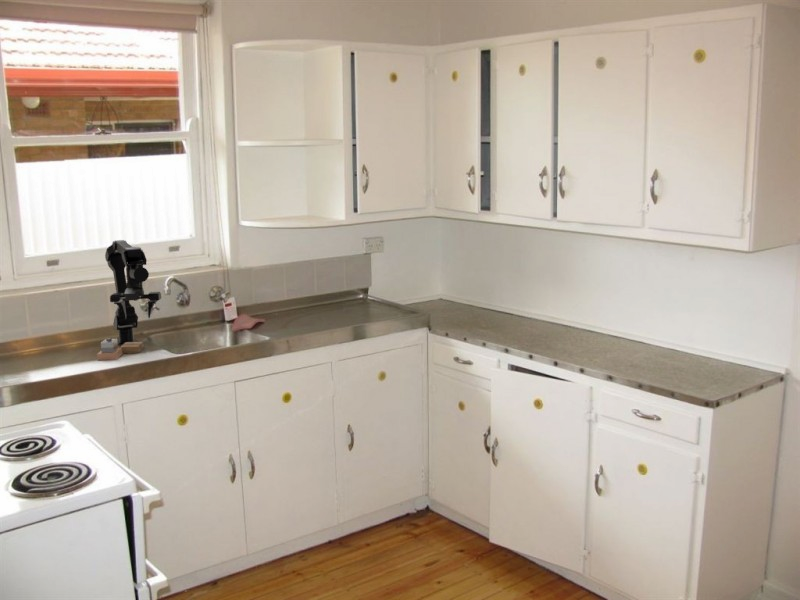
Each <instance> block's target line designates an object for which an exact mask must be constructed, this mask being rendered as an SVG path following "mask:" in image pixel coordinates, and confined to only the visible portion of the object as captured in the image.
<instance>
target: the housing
mask: <svg viewBox="0 0 800 600" xmlns="http://www.w3.org/2000/svg"><path fill="white" fill-rule="evenodd" d="M118 342H119V341H118V338H117V337H116V338H113V337H108V338H105V339H104V340H102V341H101V342H100V351H101V352H102V353H114V352H115V351H116V350H117V349H118V348H119V344H118Z"/></svg>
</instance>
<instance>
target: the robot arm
mask: <svg viewBox="0 0 800 600" xmlns="http://www.w3.org/2000/svg"><path fill="white" fill-rule="evenodd" d="M104 256H105V261H106V262H107V266H108V267H109V268H110V270H111V271H112V272H113V273H112V274H113V278H114V285H115V293H114V292H113V293H112V294H110V296H109V302H110V303H113V304H114V305H117V307H116V311H115V315H114V320H113V322H112V323H113V329H114V330H115V331H118V340H119V341H118V345H123V344H124V343H125V342H137V339H135V338H134V329H135V328H136V329H137V328H138V322H139V316H138V315H137V313H136V308H135V307H134V306H133V305H132V304H131V302H130V301H134V302H135V301H139V300H144V299H145V300H146V299H148V301H147V306H148V307H147V317H148V319H150V318H151V316H152V312H153V309H154V306H155V303H157V302H158V301H160V300H161V299H162V293H161V292H160V291H149V292H148V293H145V291H144V288H143V286H144V285H143V283H145V282H146V281H147V280H148V279H149V277H150V276H149V275H150V274H149V271H148V269H147V268H145V267H144V266H146V265H147V258H146V255H145V252H144V250H143V249H142V248H141V247H140V246H132V245H131V244H129V243H128V242H127V240H124V239H119V240H113V241H112V244H110V245H109V246H108V247H107V248H106V250H105V255H104Z"/></svg>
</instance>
